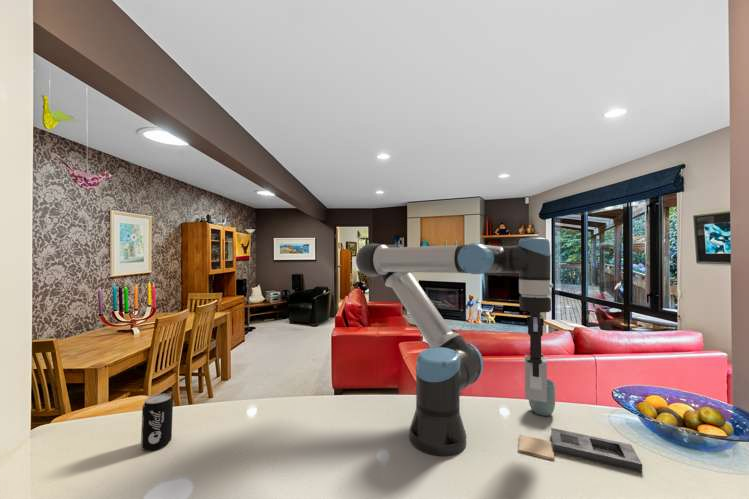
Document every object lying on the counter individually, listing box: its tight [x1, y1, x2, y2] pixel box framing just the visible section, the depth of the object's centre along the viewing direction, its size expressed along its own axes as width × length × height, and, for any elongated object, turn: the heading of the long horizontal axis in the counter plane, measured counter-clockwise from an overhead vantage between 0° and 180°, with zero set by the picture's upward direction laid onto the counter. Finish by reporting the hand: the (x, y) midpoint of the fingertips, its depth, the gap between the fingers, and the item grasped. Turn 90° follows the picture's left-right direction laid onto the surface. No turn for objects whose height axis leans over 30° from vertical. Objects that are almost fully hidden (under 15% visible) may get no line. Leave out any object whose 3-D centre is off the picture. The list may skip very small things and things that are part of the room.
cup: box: [528, 378, 556, 416], centre depth 103 cm, size 8×8×10 cm
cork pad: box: [518, 434, 555, 462], centre depth 83 cm, size 8×8×1 cm
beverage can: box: [140, 393, 174, 452], centre depth 83 cm, size 7×7×12 cm
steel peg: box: [524, 354, 548, 403], centre depth 84 cm, size 5×5×10 cm
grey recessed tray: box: [550, 427, 643, 474], centre depth 82 cm, size 18×9×2 cm, turn 64°
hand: (535, 384), depth 84 cm, fingers closed on steel peg, 5 cm apart
